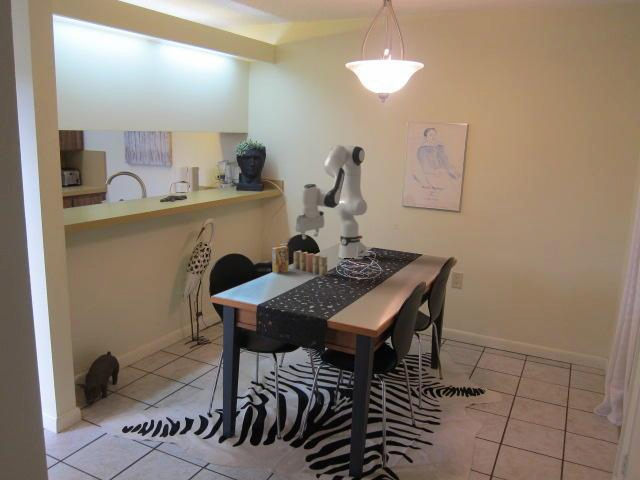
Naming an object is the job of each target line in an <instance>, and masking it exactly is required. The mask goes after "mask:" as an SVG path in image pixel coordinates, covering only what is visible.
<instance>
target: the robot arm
mask: <svg viewBox="0 0 640 480" xmlns="http://www.w3.org/2000/svg"><path fill="white" fill-rule="evenodd" d="M364 160H365V150H364V149H363V148H362V147H361V146H354V145H341V144H338V145H334V146H333V147H332V148H331V149H330V150H329V153H328V155H327V157H326V159H325V161H324V163H323V168H324V172H326V174H327V175H328V176H329V177H331V178H334V181H333V185H332V187H331V188H330V189H322V188H321V189H320V188H319V187H318V186H317V185H316V184H314V183H307V184H305V185H304V186H303V187H302V193H301V202H302V207H301V214H299V215H297V217H296V221H295V231H296V232H297V233H300V235H301V236H302V237H301V238H302V240H306V239H307V235H306V232H308V231H314V230H315V231H314V233H313V237H315V238H316V237H318V236H319V235H318V234H319V232H320V229H323V228H324V226H325V217H324V216H325V212H324V211H322V210H319V207H324V208H330V209H334V210H335V212H336V213H337V215H338V218H339V222H340V237H339V241H340V243H339V249H338V252H337V257H338V258H340V259H342V260H345V259H344V258H354V259H353V260H363V259H364V258H362V257H358V256H367V257H370V256H371V253H369V252H367V245H365V244H364V243H363V242H362V241H361V240H362V239H363V235H359V223H358V221H357V220H356V218H355V217H356V216H362V215H364V214H365V213H366V212H367V210H368V204H367V201H366V200H365V199H364V197H363V194H362V190H361V179H362V165H361V164H362V163H363V162H364ZM342 189H343V190H344V191H345V192H346V196H343V195H342V196H341V193H342ZM355 257H356V258H355Z"/></svg>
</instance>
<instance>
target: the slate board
mask: <svg viewBox="0 0 640 480" xmlns="http://www.w3.org/2000/svg"><path fill="white" fill-rule="evenodd" d="M289 271H292V272H296V273H300V274H304V275H309V276H313V277H317V278H320V277H324V276H328V275H330V274H333V272H330V271H327V274H325V275H319V273H316V274H313V271H311V272H306V270H303V271H301V270H300V268H299V269H294V267H293V268H289Z"/></svg>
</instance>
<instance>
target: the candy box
mask: <svg viewBox="0 0 640 480" xmlns="http://www.w3.org/2000/svg"><path fill="white" fill-rule="evenodd" d="M289 247H290V246H289ZM289 247H288V246H286V245H282V246H277V247H272V248H271V251H272V252H271V253H272V254H271V255H272V256H271V259H272V261H271V262H272V263H271V264H272V265H271V266H272V273H273V274H280V273H286V272H289V271H290V270H289V269H290V268H289V267H290V265H289V264H290V263H289V257H290V256H289V255H290V254H289Z"/></svg>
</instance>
